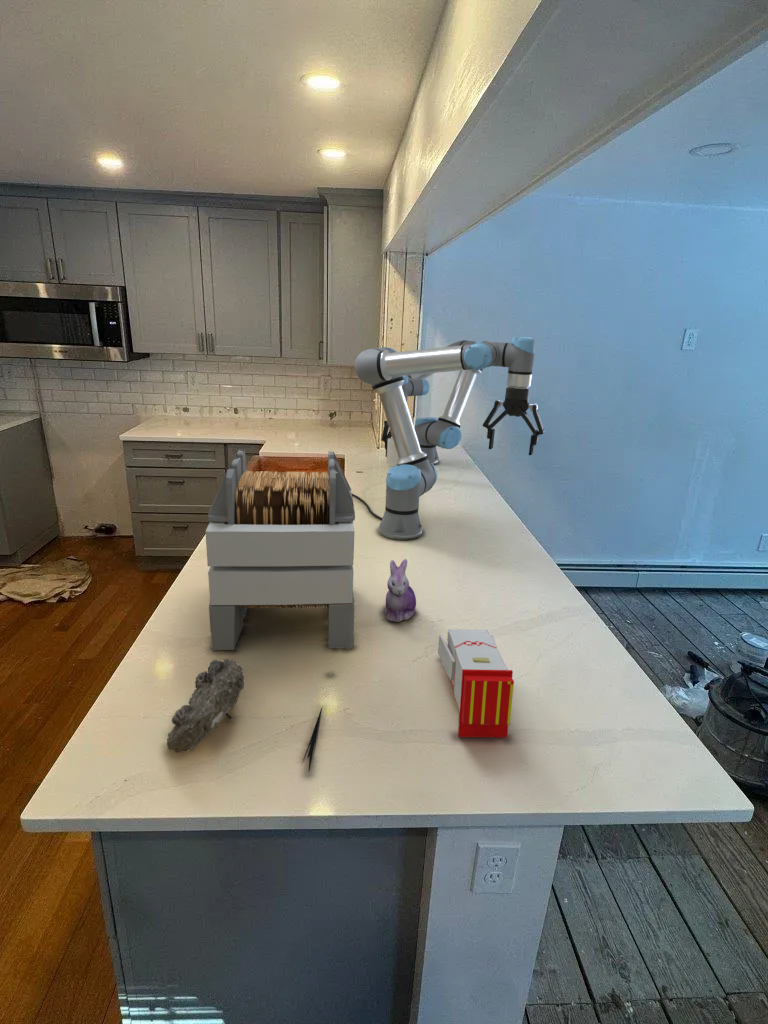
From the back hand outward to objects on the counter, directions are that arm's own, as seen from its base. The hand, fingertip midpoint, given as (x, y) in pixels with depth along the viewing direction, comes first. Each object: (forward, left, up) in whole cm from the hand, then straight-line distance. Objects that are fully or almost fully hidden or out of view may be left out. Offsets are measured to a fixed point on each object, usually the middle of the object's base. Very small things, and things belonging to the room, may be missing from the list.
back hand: (395, 458), depth 266 cm
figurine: (+126, -31, -8) cm, 130 cm away
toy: (+159, -24, -8) cm, 161 cm away
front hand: (+80, +18, +23) cm, 85 cm away
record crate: (+121, -60, -8) cm, 135 cm away
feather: (+162, -56, -8) cm, 172 cm away
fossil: (+158, -76, -8) cm, 175 cm away
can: (0, 0, -3) cm, 3 cm away
